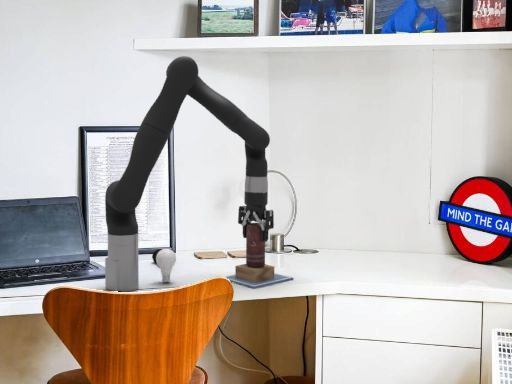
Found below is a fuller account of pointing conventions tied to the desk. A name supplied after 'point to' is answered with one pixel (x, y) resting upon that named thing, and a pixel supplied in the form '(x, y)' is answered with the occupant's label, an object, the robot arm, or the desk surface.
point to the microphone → (155, 255)
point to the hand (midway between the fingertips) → (255, 239)
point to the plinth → (254, 273)
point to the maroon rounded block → (254, 246)
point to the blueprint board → (277, 279)
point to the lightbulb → (166, 263)
